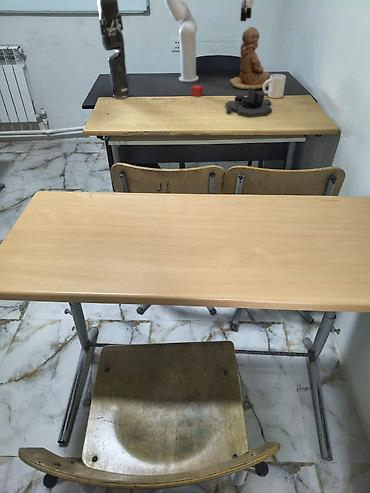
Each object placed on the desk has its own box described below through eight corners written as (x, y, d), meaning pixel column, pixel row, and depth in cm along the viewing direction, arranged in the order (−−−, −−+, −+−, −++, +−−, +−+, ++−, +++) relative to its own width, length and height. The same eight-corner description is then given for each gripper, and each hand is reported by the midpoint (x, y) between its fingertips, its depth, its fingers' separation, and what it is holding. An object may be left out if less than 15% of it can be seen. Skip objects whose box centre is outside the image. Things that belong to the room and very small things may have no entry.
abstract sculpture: (232, 99, 169) (222, 86, 184) (231, 118, 175) (221, 105, 190) (283, 94, 172) (268, 83, 187) (280, 114, 178) (266, 101, 193)
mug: (263, 99, 195) (266, 79, 188) (259, 94, 201) (261, 75, 194) (285, 97, 196) (288, 77, 189) (279, 93, 202) (282, 73, 196)
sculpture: (274, 90, 207) (281, 30, 187) (232, 91, 207) (235, 31, 188) (266, 76, 228) (272, 21, 208) (228, 77, 228) (231, 23, 209)
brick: (199, 96, 202) (199, 88, 199) (191, 95, 203) (191, 87, 201) (202, 94, 205) (202, 85, 202) (194, 93, 207) (194, 85, 204)
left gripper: (106, 2, 143) (113, 48, 153) (124, -2, 153) (129, 41, 163) (91, 2, 145) (98, 47, 156) (109, -2, 155) (115, 40, 166)
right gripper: (250, -17, 185) (247, 22, 196) (259, -19, 197) (256, 17, 208) (236, -17, 188) (234, 22, 199) (245, -19, 200) (243, 17, 211)
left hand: (114, 44), depth 160 cm, fingers open, 8 cm apart
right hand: (245, 19), depth 204 cm, fingers open, 9 cm apart
